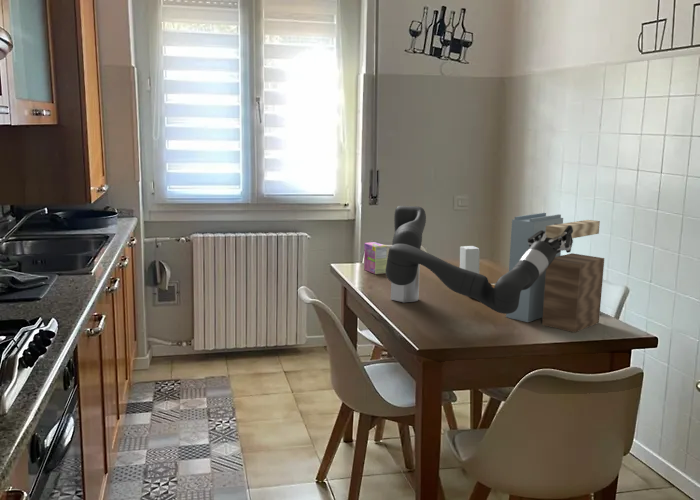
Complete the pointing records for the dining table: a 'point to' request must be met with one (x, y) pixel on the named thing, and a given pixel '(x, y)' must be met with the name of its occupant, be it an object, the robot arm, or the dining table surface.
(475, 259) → the skincare box
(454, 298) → the dining table surface
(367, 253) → the box
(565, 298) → the low stand
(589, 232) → the brown rectangular block
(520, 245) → the pedestal
